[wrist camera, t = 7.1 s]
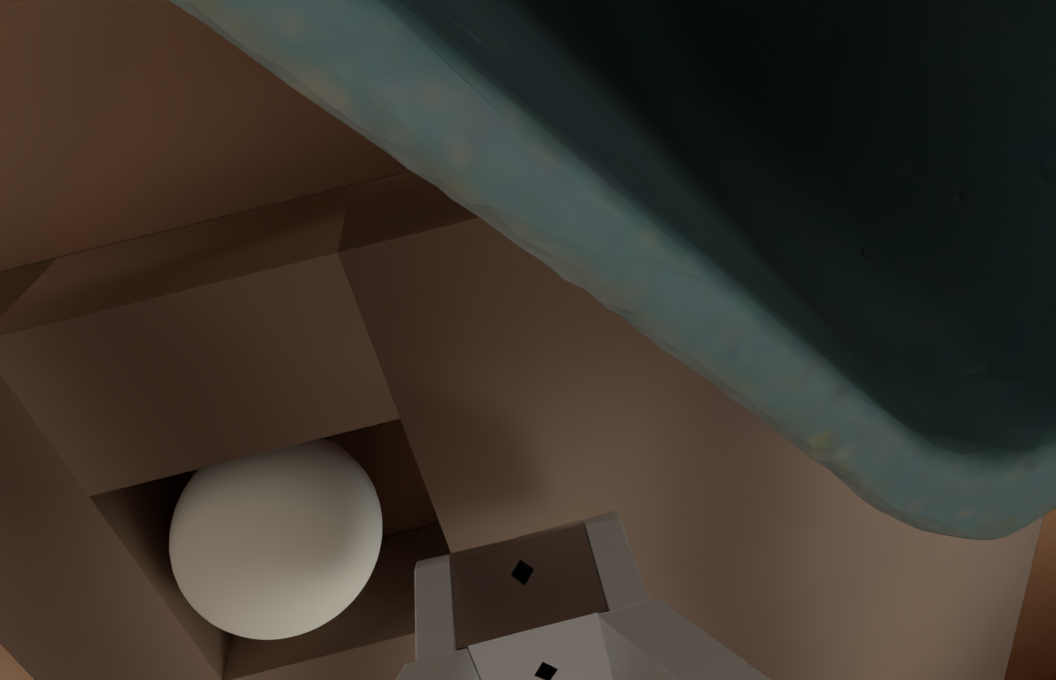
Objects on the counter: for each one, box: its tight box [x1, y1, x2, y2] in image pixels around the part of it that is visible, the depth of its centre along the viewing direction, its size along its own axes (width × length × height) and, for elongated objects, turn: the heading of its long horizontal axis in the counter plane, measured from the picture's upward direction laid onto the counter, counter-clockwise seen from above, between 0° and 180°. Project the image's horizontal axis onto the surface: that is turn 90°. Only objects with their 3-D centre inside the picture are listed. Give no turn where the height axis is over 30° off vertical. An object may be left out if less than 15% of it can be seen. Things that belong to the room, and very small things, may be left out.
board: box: [0, 171, 1044, 680], centre depth 16 cm, size 18×20×2 cm
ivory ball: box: [169, 438, 382, 640], centre depth 13 cm, size 3×3×3 cm
